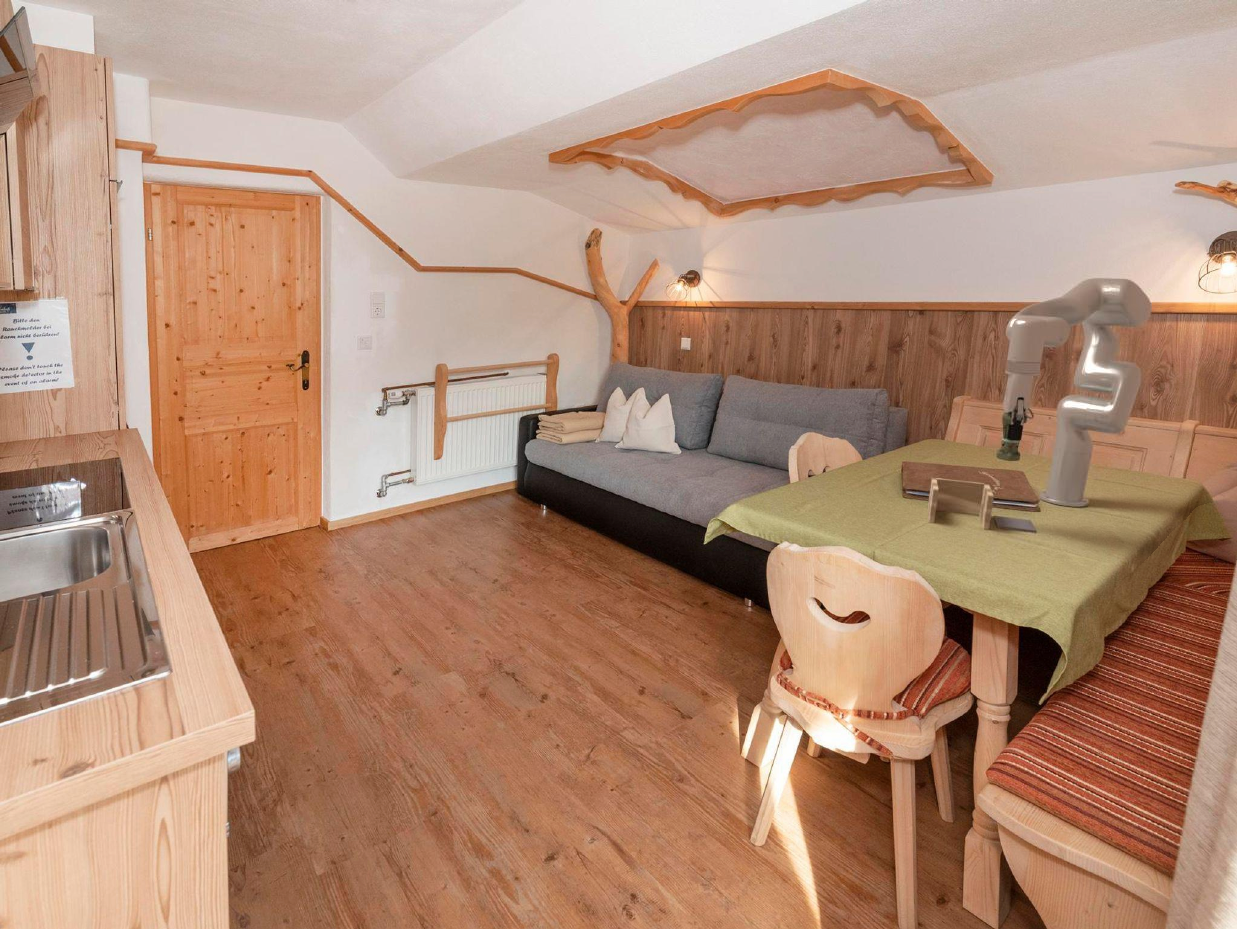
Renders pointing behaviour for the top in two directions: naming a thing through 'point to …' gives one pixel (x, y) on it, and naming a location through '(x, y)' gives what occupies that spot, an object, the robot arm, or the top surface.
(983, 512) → the light wood u-shaped frame
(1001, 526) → the coaster
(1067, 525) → the top surface
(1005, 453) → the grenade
